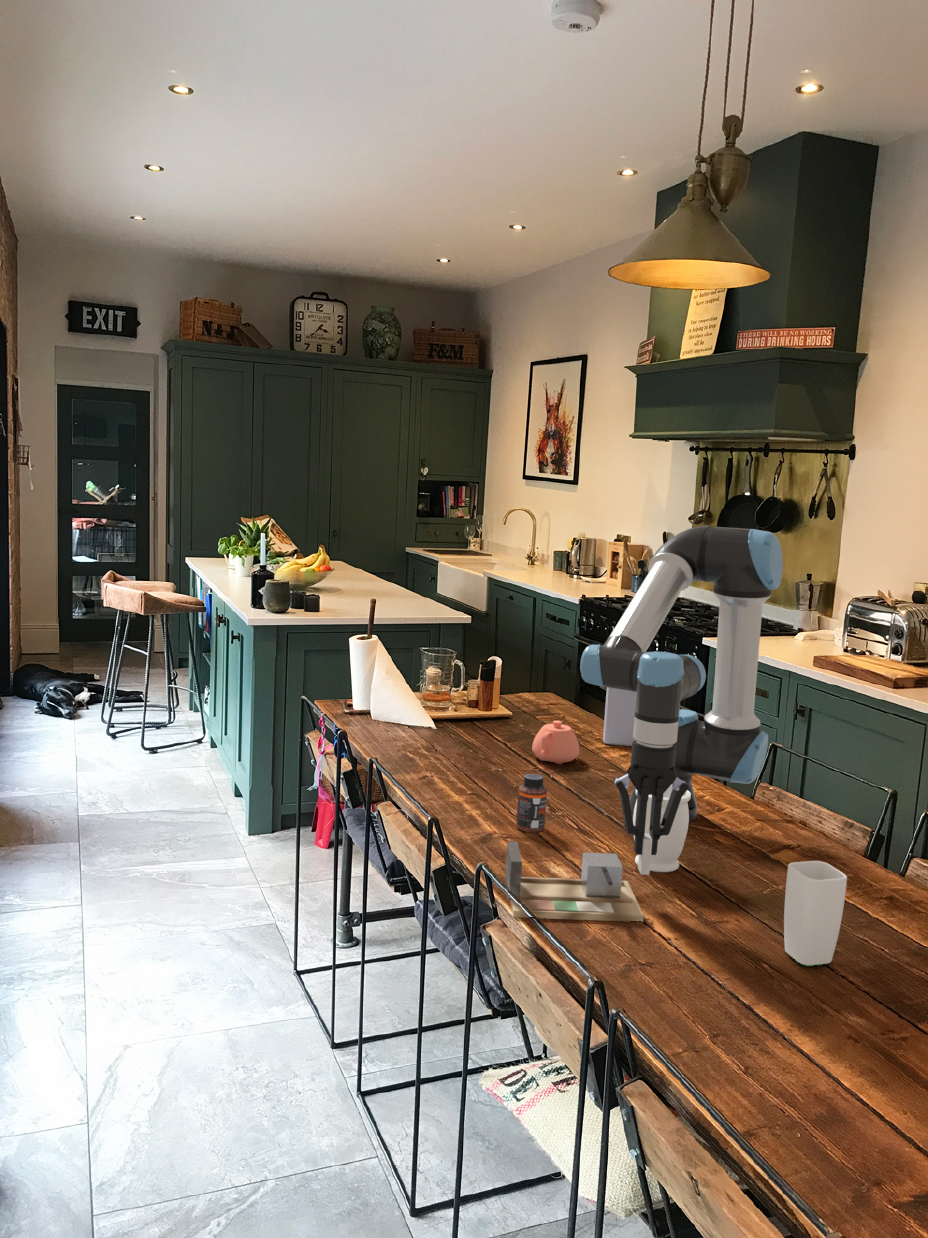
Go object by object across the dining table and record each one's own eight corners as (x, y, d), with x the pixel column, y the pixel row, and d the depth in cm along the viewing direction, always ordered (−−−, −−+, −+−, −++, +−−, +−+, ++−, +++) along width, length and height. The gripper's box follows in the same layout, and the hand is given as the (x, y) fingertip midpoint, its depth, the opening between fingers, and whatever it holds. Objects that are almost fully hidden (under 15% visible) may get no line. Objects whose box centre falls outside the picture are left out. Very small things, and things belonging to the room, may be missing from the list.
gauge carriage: (613, 885, 179) (616, 853, 178) (625, 913, 168) (628, 879, 167) (580, 884, 178) (583, 852, 177) (590, 912, 167) (593, 878, 166)
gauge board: (627, 887, 181) (630, 844, 180) (643, 922, 168) (647, 876, 166) (504, 882, 180) (507, 839, 179) (510, 917, 167) (513, 871, 165)
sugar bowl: (586, 759, 261) (589, 721, 259) (562, 771, 249) (565, 731, 248) (545, 749, 267) (547, 712, 266) (519, 761, 256) (522, 722, 254)
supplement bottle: (542, 835, 205) (546, 782, 203) (514, 831, 206) (517, 779, 204) (546, 825, 211) (549, 773, 209) (518, 821, 212) (521, 770, 210)
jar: (651, 879, 186) (658, 802, 183) (618, 858, 195) (624, 785, 192) (695, 871, 191) (702, 796, 188) (661, 851, 200) (667, 779, 197)
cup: (801, 972, 153) (811, 881, 151) (774, 950, 160) (783, 862, 158) (841, 968, 155) (852, 878, 153) (813, 946, 162) (822, 859, 160)
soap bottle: (603, 736, 284) (609, 650, 280) (634, 739, 283) (641, 652, 279) (603, 744, 275) (609, 655, 271) (635, 747, 274) (643, 658, 270)
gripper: (686, 737, 176) (674, 864, 179) (613, 734, 175) (603, 861, 179) (697, 749, 168) (685, 881, 172) (621, 746, 168) (610, 879, 171)
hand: (643, 871), depth 175 cm, fingers closed
